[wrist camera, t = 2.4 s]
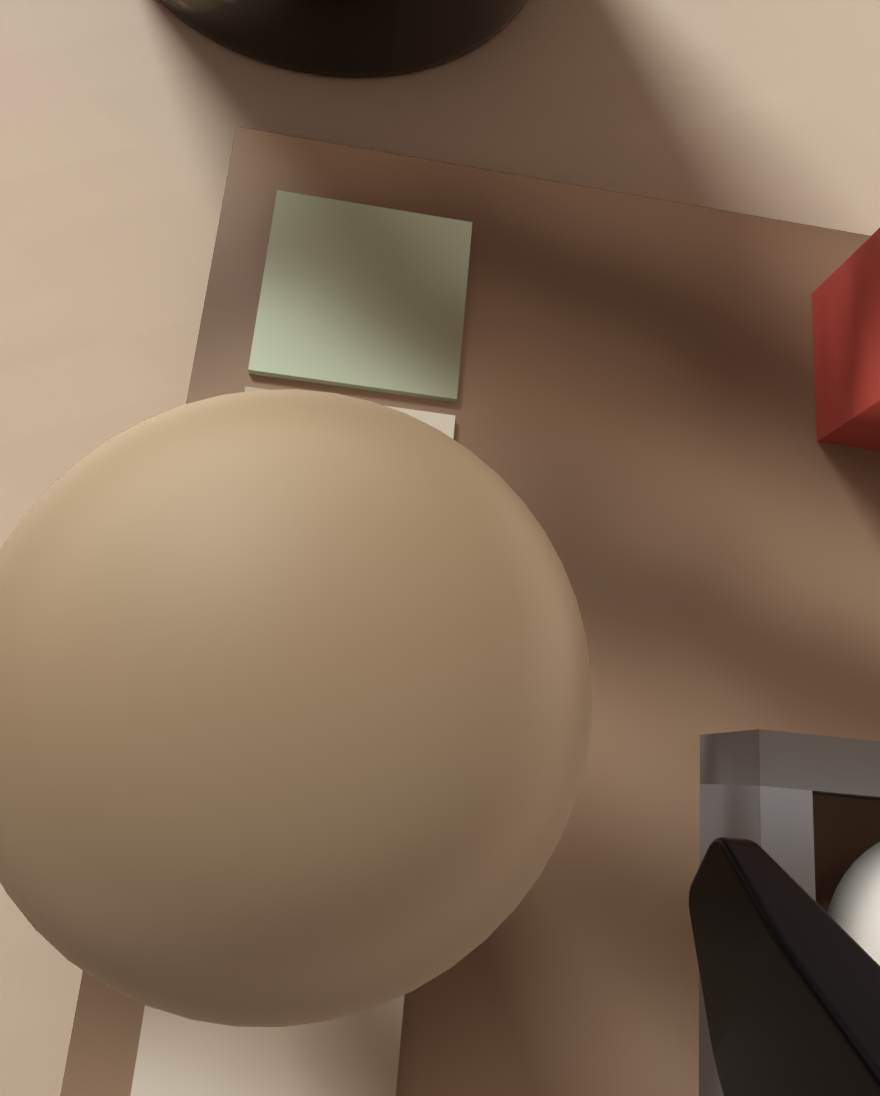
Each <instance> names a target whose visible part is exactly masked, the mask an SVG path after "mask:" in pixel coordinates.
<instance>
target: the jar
mask: <svg viewBox="0 0 880 1096" xmlns="http://www.w3.org/2000/svg"><path fill="white" fill-rule="evenodd" d="M160 1H162V2H163V3H164V4H165V5H166V6H167V7H168V8H169V9H170V10H171V11H173V12H174V13H175V14H176V15H177V16H179V17H180V18H181V19H182V20H184V21H185V22H187V23H188V24H189V25H191V26H192V27H194V28H195V29H197V30H198V31H200V32H201V33H203V34H205V35H206V36H208V37H210V38H211V39H213V40H215V41H217V42H219V43H221V44H223V45H225V46H227V47H229V48H231V49H233V50H235V51H238V52H240V53H242V54H245V55H247V56H250V57H252V58H255V59H258V60H261V61H264V62H267V63H270V64H274V65H277V66H281V67H285V68H289V69H293V70H298V71H303V72H308V73H315V74H323V75H331V76H348V77H370V76H383V75H393V74H399V73H406V72H411V71H416V70H420V69H424V68H428V67H431V66H434V65H438V64H441V63H444V62H446V61H449V60H451V59H454V58H456V57H459V56H461V55H463V54H465V53H467V52H469V51H471V50H473V49H475V48H476V47H478V46H479V45H481V44H482V43H484V42H486V41H487V40H489V39H490V38H491V37H493V36H494V35H495V34H496V33H498V32H499V31H500V30H501V29H502V28H503V27H504V26H506V25H507V24H508V23H509V22H510V21H511V20H512V19H513V17H514V16H515V15H516V14H517V13H518V11H519V10H520V9H521V8H522V6H523V5H524V3H525V2H526V0H160Z"/></svg>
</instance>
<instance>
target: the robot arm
mask: <svg viewBox="0 0 880 1096" xmlns="http://www.w3.org/2000/svg"><path fill="white" fill-rule="evenodd" d="M689 912H690V918H691V924H692V930H693V937H694V943H695V949H696V955H697V961H698V967H699V973H700V979H701V986H702V992H703V998H704V1004H705V1010H706V1016H707V1022H708V1029H709V1034H710V1039H711V1045H712V1050H713V1055H714V1059H715V1063H716V1067H717V1072H718V1076H719V1080H720V1084H721V1087H722V1091H723V1095H724V1096H880V965H879V964H878V963H877V962H876V961H875V960H874V959H873V958H872V957H871V956H870V955H869V954H868V953H867V952H866V951H865V950H864V949H863V948H862V947H861V946H860V945H859V944H858V943H857V942H856V941H855V940H854V939H853V938H852V937H851V936H850V935H849V934H848V933H847V932H846V931H845V930H844V929H843V928H842V927H841V926H840V925H839V924H838V923H837V922H836V921H835V920H834V919H833V918H832V917H831V916H830V915H829V914H828V913H827V912H826V911H825V910H824V909H823V908H822V907H821V906H820V905H819V904H818V903H817V902H816V901H815V900H814V899H813V898H812V897H811V896H810V895H809V894H808V893H807V892H806V891H805V890H804V889H803V888H802V887H801V886H800V885H799V884H798V883H797V882H796V881H795V880H794V879H793V878H792V877H791V876H790V875H789V874H788V873H787V872H786V871H785V870H784V869H783V868H782V867H781V866H780V865H779V864H778V863H777V862H776V861H775V860H774V859H773V858H772V857H771V856H770V855H769V854H768V853H767V852H766V851H765V850H764V849H763V848H762V847H760V846H759V845H758V844H757V843H755V842H754V841H751V840H748V839H739V838H728V837H718V838H716V839H714V840H713V841H712V842H711V844H710V845H709V847H708V849H707V851H706V854H705V856H704V858H703V860H702V862H701V864H700V866H699V869H698V871H697V873H696V875H695V877H694V879H693V881H692V884H691V887H690V891H689Z"/></svg>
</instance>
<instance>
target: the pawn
mask: <svg viewBox="0 0 880 1096" xmlns="http://www.w3.org/2000/svg"><path fill="white" fill-rule="evenodd" d="M591 722H592V677H591V669H590V661H589V653H588V645H587V638H586V634H585V630H584V626H583V622H582V618H581V614H580V610H579V606H578V602H577V599H576V596H575V594H574V591H573V589H572V586H571V584H570V581H569V578H568V576H567V573H566V571H565V568H564V566H563V564H562V562H561V560H560V558H559V556H558V554H557V553H556V551H555V549H554V547H553V545H552V543H551V542H550V540H549V538H548V536H547V534H546V532H545V531H544V529H543V528H542V527H541V525H540V524H539V522H538V521H537V520H536V518H535V517H534V515H533V514H532V513H531V511H530V510H529V509H528V507H527V506H526V504H525V503H524V502H523V500H522V499H521V498H520V497H519V496H518V495H517V494H516V493H515V492H514V491H513V490H512V489H511V487H510V486H509V485H508V484H507V483H506V482H505V481H504V480H503V479H502V478H501V477H500V476H499V474H497V473H496V472H495V471H494V470H493V469H492V468H490V467H489V466H488V465H487V464H486V463H484V462H483V461H482V460H481V459H480V458H479V457H477V456H476V455H475V454H474V453H473V452H472V451H470V450H469V449H467V448H466V447H464V446H463V445H461V444H460V443H458V442H457V441H455V440H454V439H452V438H451V437H449V436H448V435H446V434H445V433H443V432H441V431H440V430H438V429H436V428H434V427H432V426H430V425H428V424H426V423H424V422H422V421H420V420H418V419H416V418H414V417H412V416H410V415H408V414H406V413H403V412H400V411H397V410H394V409H392V408H389V407H386V406H383V405H380V404H378V403H375V402H372V401H368V400H363V399H359V398H354V397H350V396H345V395H341V394H337V393H329V392H319V391H309V390H300V389H284V390H255V391H248V392H240V393H233V394H225V395H220V396H216V397H212V398H208V399H204V400H200V401H196V402H192V403H189V404H185V405H182V406H179V407H177V408H174V409H171V410H169V411H166V412H164V413H161V414H159V415H156V416H154V417H151V418H148V419H146V420H144V421H142V422H140V423H139V424H137V425H135V426H133V427H131V428H129V429H127V430H125V431H124V432H122V433H120V434H118V435H116V436H114V437H112V438H111V439H109V440H108V441H106V442H105V443H104V444H102V445H101V446H99V447H98V448H96V449H95V450H94V451H92V452H91V453H89V454H88V455H86V456H85V457H84V458H82V459H81V460H79V461H78V462H77V463H76V464H75V465H74V466H72V467H71V468H70V469H69V470H68V471H67V472H66V473H65V474H64V475H62V476H61V477H60V478H59V479H58V480H57V481H56V482H55V483H54V484H52V485H51V486H50V487H49V488H48V489H47V490H46V491H45V492H44V494H43V495H42V496H41V497H40V498H39V499H38V501H37V502H36V503H35V504H34V505H33V506H32V507H31V509H30V510H29V511H28V512H27V513H26V514H25V516H24V517H23V518H22V519H21V520H20V522H19V523H18V525H17V526H16V528H15V529H14V531H13V532H12V534H11V535H10V537H9V538H8V540H7V541H6V543H5V544H4V546H3V547H2V549H1V550H0V882H1V884H2V885H3V887H4V889H5V891H6V892H7V894H8V895H9V897H10V898H11V899H12V900H13V902H14V903H15V904H16V905H17V907H18V908H19V909H20V911H21V912H22V913H23V914H24V916H25V917H26V918H27V919H28V921H29V922H30V923H31V924H32V926H33V927H34V928H35V929H36V930H37V931H38V932H39V933H40V934H41V935H42V936H43V937H44V938H45V939H46V940H47V941H48V942H49V943H51V944H52V945H53V946H54V947H55V948H56V949H57V950H58V951H59V952H60V953H61V954H62V955H63V956H64V957H65V958H67V959H68V960H69V961H70V962H72V963H73V964H75V965H76V966H78V967H79V968H80V969H82V970H83V971H85V972H86V973H88V974H89V975H91V976H92V977H94V978H95V979H96V980H98V981H99V982H101V983H102V984H104V985H105V986H107V987H109V988H111V989H113V990H115V991H117V992H119V993H121V994H124V995H126V996H128V997H130V998H132V999H134V1000H136V1001H138V1002H140V1003H142V1004H144V1005H146V1006H149V1007H152V1008H155V1009H159V1010H162V1011H165V1012H168V1013H171V1014H175V1015H178V1016H181V1017H184V1018H187V1019H191V1020H197V1021H203V1022H209V1023H216V1024H222V1025H229V1026H235V1027H287V1026H295V1025H302V1024H310V1023H317V1022H325V1021H330V1020H333V1019H337V1018H341V1017H344V1016H348V1015H351V1014H355V1013H359V1012H362V1011H366V1010H369V1009H372V1008H375V1007H377V1006H379V1005H382V1004H384V1003H386V1002H388V1001H391V1000H393V999H395V998H398V997H400V996H402V995H405V994H407V993H409V992H412V991H413V990H415V989H417V988H418V987H420V986H422V985H423V984H425V983H427V982H428V981H430V980H432V979H433V978H435V977H437V976H438V975H440V974H442V973H443V972H445V971H447V970H448V969H450V968H451V967H453V966H454V965H455V964H456V963H458V962H459V961H460V960H461V959H463V958H464V957H465V956H466V955H468V954H469V953H470V952H471V951H473V950H474V949H475V948H476V947H478V946H479V945H480V944H481V943H483V942H484V941H485V940H486V939H487V938H488V937H489V936H490V935H491V934H492V933H493V932H494V931H495V930H496V929H497V928H498V926H499V925H500V924H501V923H502V922H503V921H504V920H505V919H506V918H507V917H508V916H509V915H510V914H511V913H512V912H513V911H514V910H515V909H516V907H517V906H518V905H519V903H520V902H521V901H522V899H523V898H524V896H525V895H526V894H527V892H528V891H529V890H530V888H531V887H532V886H533V884H534V883H535V881H536V880H537V879H538V877H539V876H540V875H541V873H542V871H543V869H544V868H545V866H546V864H547V862H548V860H549V859H550V857H551V855H552V853H553V851H554V850H555V848H556V846H557V844H558V842H559V840H560V839H561V837H562V834H563V832H564V829H565V827H566V824H567V822H568V819H569V817H570V814H571V812H572V809H573V807H574V804H575V801H576V799H577V795H578V791H579V788H580V784H581V780H582V776H583V772H584V768H585V764H586V760H587V754H588V746H589V738H590V730H591Z"/></svg>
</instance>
